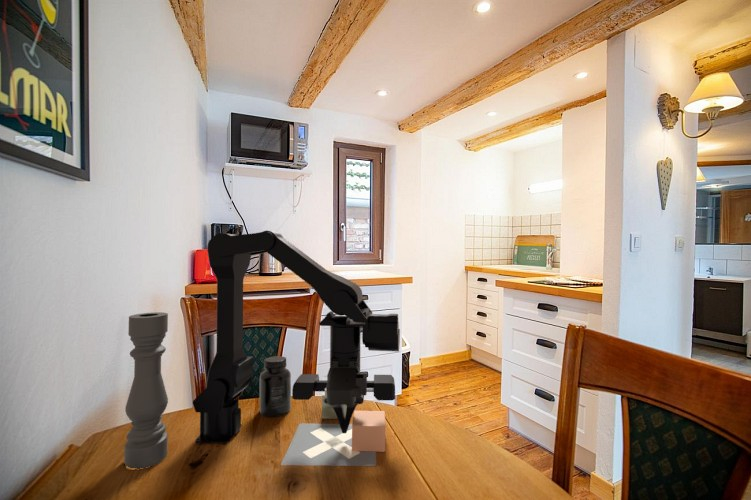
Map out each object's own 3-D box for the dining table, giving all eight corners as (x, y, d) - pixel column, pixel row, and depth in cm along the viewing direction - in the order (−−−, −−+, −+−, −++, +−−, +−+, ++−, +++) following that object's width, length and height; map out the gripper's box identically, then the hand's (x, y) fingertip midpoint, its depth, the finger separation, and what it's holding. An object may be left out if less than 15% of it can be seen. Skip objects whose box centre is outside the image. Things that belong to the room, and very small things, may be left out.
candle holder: (175, 450, 61) (177, 312, 61) (146, 472, 55) (149, 319, 55) (146, 447, 62) (148, 311, 63) (114, 468, 56) (117, 317, 56)
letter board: (280, 467, 56) (280, 464, 56) (299, 425, 70) (299, 423, 70) (376, 468, 56) (376, 465, 56) (376, 425, 70) (376, 423, 70)
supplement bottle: (294, 406, 79) (295, 355, 80) (284, 420, 73) (284, 364, 73) (267, 404, 80) (267, 354, 80) (253, 418, 73) (254, 363, 74)
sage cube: (321, 420, 73) (322, 395, 73) (325, 409, 78) (325, 385, 78) (347, 421, 73) (347, 395, 73) (349, 409, 78) (349, 385, 78)
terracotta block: (351, 451, 60) (352, 425, 60) (353, 433, 66) (354, 410, 66) (385, 451, 60) (385, 426, 60) (384, 434, 66) (384, 411, 66)
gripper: (284, 362, 56) (283, 457, 55) (397, 362, 55) (396, 458, 55) (299, 344, 67) (299, 423, 66) (393, 345, 67) (393, 424, 66)
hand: (344, 432), depth 63 cm, fingers closed
